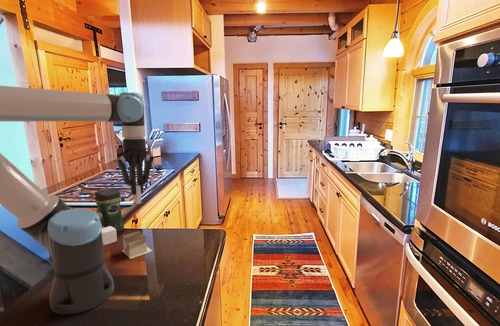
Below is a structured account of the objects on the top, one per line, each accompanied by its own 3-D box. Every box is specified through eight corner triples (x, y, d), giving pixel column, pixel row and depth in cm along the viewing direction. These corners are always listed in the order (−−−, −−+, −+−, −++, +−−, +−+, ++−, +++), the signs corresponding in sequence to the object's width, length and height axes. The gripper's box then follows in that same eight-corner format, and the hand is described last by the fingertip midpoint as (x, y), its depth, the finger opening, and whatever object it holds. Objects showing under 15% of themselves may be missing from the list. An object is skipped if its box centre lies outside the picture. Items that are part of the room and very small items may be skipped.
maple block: (129, 241, 96) (130, 257, 97) (146, 236, 100) (147, 251, 101) (122, 235, 100) (124, 251, 101) (139, 231, 104) (140, 245, 105)
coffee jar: (117, 225, 125) (114, 185, 122) (126, 230, 120) (123, 188, 117) (95, 232, 117) (90, 190, 114) (104, 237, 112) (99, 193, 109)
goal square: (152, 251, 101) (152, 250, 101) (130, 258, 96) (130, 258, 96) (143, 243, 107) (143, 243, 107) (122, 250, 102) (122, 250, 102)
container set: (111, 238, 113) (110, 225, 112) (117, 242, 109) (116, 229, 108) (53, 256, 98) (51, 242, 97) (57, 262, 94) (55, 247, 93)
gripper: (147, 136, 105) (150, 197, 108) (110, 138, 96) (115, 203, 100) (156, 137, 99) (159, 201, 103) (118, 139, 90) (123, 208, 94)
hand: (137, 202), depth 101 cm, fingers closed
